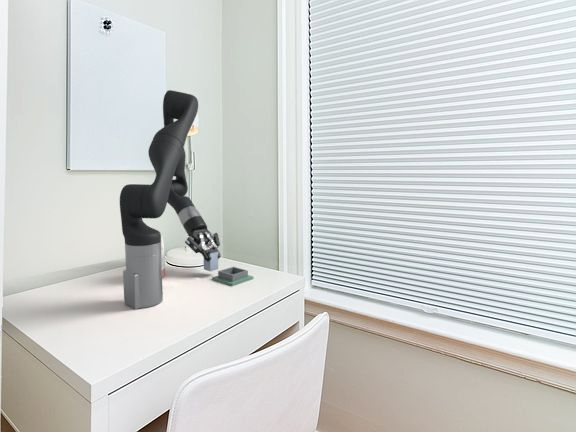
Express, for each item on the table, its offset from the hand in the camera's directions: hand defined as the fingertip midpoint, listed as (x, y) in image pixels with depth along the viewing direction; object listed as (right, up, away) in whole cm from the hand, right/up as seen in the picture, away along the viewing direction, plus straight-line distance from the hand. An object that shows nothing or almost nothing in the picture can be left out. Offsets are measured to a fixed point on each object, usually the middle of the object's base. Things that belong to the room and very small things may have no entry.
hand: (214, 259), depth 117 cm
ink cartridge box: (-20, -7, -4) cm, 21 cm away
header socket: (+7, -7, -2) cm, 10 cm away
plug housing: (-1, -4, +2) cm, 4 cm away
